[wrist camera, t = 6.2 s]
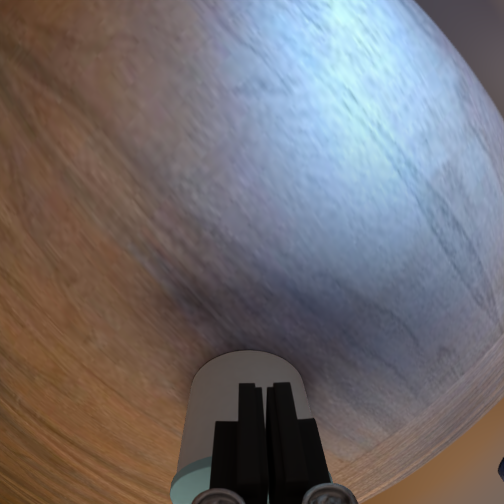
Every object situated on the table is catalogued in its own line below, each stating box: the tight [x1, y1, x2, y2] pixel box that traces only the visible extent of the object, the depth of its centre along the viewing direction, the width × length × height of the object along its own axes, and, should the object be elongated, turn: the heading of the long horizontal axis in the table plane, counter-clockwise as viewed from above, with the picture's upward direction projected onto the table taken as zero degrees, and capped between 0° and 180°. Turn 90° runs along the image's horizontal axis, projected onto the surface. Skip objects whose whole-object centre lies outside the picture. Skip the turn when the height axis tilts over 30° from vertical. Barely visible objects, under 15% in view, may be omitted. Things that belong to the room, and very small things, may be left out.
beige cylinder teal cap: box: [170, 350, 333, 504], centre depth 15 cm, size 10×7×10 cm
